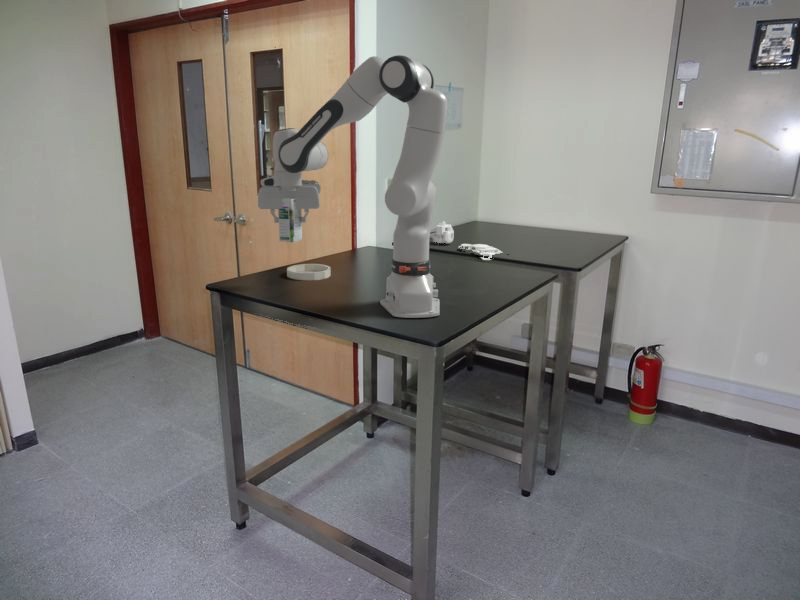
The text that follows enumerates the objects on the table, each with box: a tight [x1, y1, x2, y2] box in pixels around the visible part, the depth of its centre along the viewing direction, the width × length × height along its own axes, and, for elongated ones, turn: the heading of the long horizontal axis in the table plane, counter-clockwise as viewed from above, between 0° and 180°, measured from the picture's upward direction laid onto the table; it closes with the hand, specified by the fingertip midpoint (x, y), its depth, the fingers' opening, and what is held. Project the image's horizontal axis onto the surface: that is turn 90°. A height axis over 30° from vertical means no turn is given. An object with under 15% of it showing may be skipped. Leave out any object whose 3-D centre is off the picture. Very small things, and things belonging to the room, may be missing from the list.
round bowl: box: [286, 263, 332, 281], centre depth 203 cm, size 16×16×3 cm
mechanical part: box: [429, 220, 455, 244], centre depth 270 cm, size 11×12×12 cm
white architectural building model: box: [458, 243, 503, 261], centre depth 249 cm, size 23×25×4 cm
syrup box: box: [277, 198, 303, 243], centre depth 181 cm, size 6×6×14 cm
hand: (290, 222), depth 182 cm, fingers closed on syrup box, 7 cm apart
